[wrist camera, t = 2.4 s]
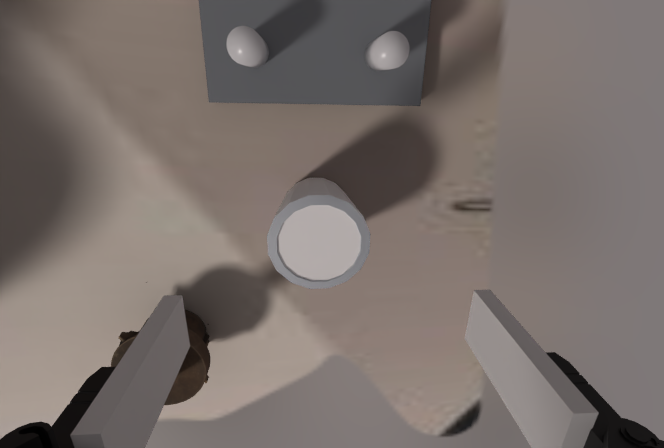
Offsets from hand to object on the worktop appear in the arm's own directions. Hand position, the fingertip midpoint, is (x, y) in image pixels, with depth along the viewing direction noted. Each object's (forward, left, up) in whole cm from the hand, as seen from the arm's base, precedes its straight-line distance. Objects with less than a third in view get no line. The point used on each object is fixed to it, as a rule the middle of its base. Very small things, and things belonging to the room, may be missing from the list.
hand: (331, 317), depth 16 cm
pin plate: (0, +16, -15) cm, 22 cm away
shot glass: (0, 0, -15) cm, 15 cm away
